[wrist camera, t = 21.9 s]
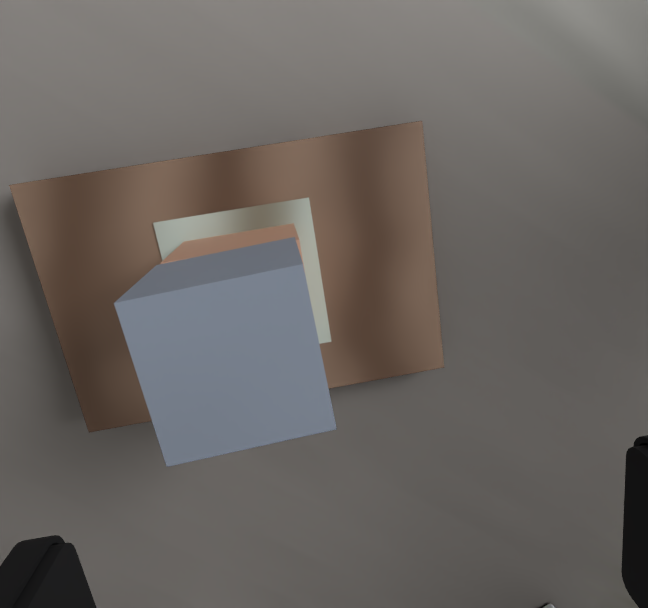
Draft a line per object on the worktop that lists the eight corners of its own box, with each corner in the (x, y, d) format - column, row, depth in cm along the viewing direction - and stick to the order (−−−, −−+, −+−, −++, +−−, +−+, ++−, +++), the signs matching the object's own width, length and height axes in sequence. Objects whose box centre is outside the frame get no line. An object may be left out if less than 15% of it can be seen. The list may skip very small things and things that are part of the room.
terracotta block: (293, 223, 23) (299, 239, 18) (310, 325, 24) (320, 366, 19) (183, 241, 23) (160, 263, 18) (207, 344, 24) (192, 390, 19)
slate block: (294, 236, 18) (303, 264, 13) (320, 363, 19) (337, 429, 15) (156, 265, 18) (113, 302, 13) (193, 390, 19) (167, 466, 14)
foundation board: (410, 123, 24) (422, 120, 22) (432, 353, 28) (444, 368, 26) (30, 183, 23) (7, 185, 21) (102, 413, 27) (88, 433, 25)
